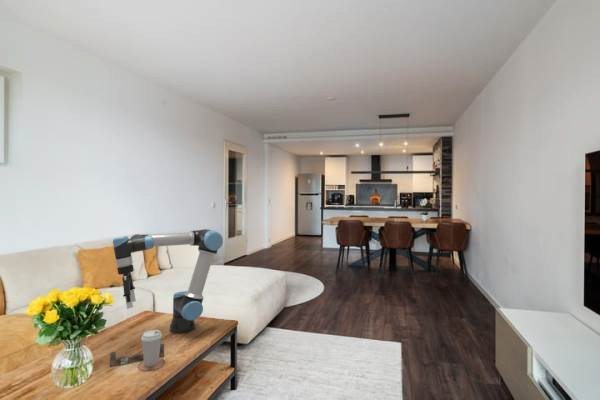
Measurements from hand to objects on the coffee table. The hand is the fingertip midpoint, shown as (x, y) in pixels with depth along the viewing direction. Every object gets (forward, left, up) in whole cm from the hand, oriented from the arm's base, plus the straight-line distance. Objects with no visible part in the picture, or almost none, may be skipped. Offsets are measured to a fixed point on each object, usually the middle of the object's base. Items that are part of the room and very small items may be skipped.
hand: (131, 304), depth 173 cm
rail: (-3, +19, -25) cm, 31 cm away
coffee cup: (-9, +20, -25) cm, 33 cm away
